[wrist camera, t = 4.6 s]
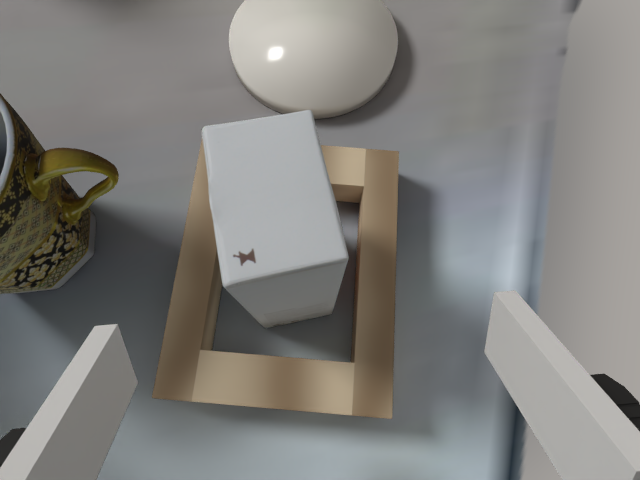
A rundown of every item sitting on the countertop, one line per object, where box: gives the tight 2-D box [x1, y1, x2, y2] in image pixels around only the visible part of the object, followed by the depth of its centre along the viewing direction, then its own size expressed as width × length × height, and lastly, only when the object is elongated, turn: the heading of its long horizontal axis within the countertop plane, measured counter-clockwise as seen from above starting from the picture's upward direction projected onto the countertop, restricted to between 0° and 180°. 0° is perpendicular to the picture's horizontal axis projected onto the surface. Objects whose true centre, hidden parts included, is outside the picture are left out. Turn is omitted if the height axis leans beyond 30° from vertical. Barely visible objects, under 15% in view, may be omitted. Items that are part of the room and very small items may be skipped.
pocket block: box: [152, 139, 399, 419], centre depth 24 cm, size 12×15×2 cm
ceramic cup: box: [0, 94, 119, 294], centre depth 21 cm, size 13×10×10 cm
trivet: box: [229, 0, 398, 119], centre depth 30 cm, size 12×12×1 cm
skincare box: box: [202, 110, 349, 328], centre depth 19 cm, size 6×4×12 cm
